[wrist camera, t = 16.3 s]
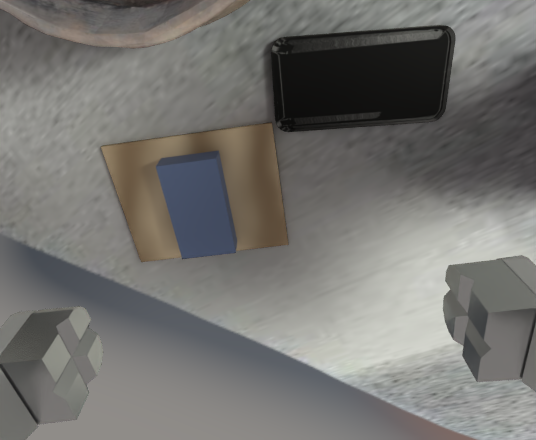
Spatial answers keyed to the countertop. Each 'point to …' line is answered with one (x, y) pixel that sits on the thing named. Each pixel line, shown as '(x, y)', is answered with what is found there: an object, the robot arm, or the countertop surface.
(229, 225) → the box
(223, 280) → the countertop surface
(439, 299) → the countertop surface
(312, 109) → the phone
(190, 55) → the countertop surface
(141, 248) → the mat
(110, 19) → the ceramic bowl
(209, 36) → the countertop surface
